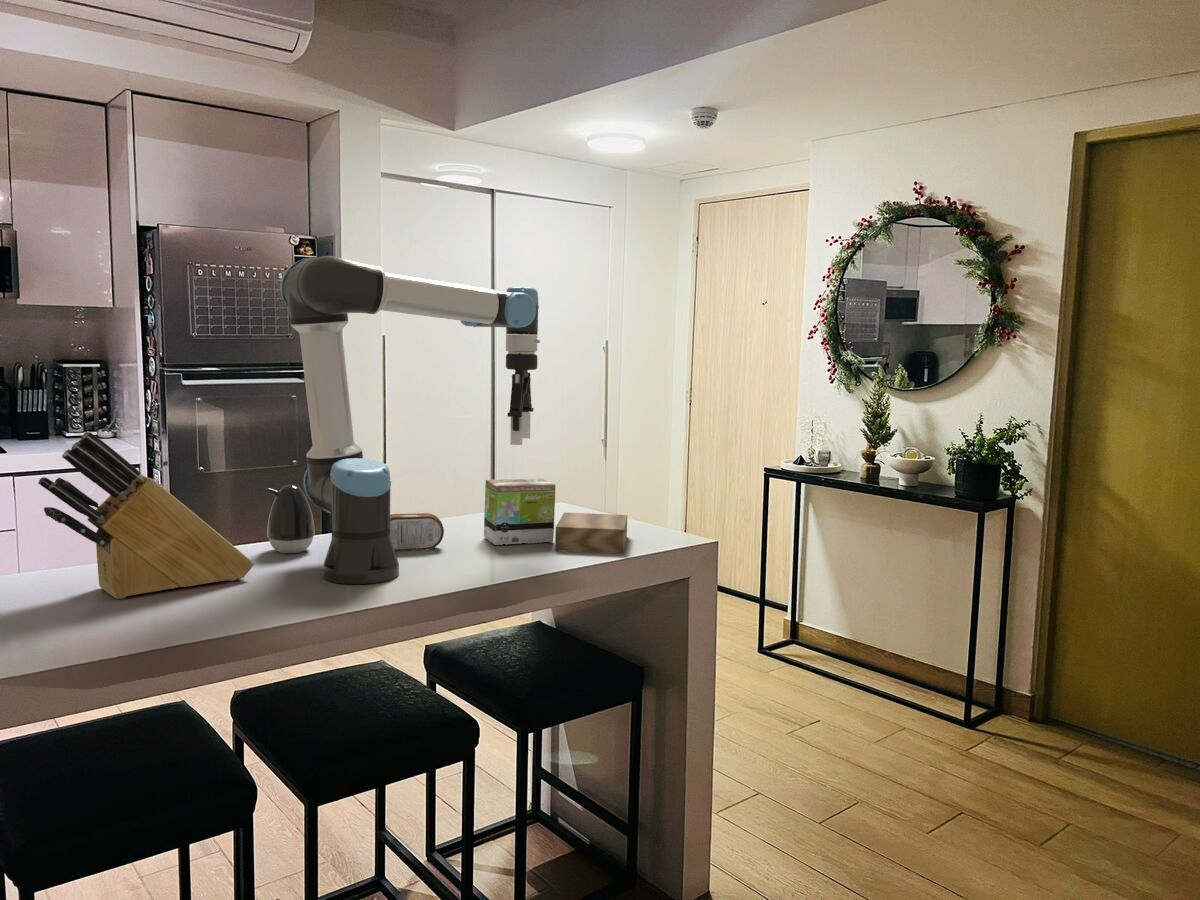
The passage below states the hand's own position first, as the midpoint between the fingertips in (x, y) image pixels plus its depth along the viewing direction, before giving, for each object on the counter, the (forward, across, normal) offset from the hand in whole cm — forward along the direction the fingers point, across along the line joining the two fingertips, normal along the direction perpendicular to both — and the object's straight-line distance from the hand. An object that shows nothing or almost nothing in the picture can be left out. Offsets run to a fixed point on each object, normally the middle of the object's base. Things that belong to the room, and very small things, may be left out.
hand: (520, 441), depth 224 cm
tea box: (+25, 0, 0) cm, 25 cm away
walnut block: (+25, 0, -18) cm, 31 cm away
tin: (+24, -14, +23) cm, 37 cm away
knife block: (+24, -53, +63) cm, 86 cm away
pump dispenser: (+24, -20, +49) cm, 58 cm away
